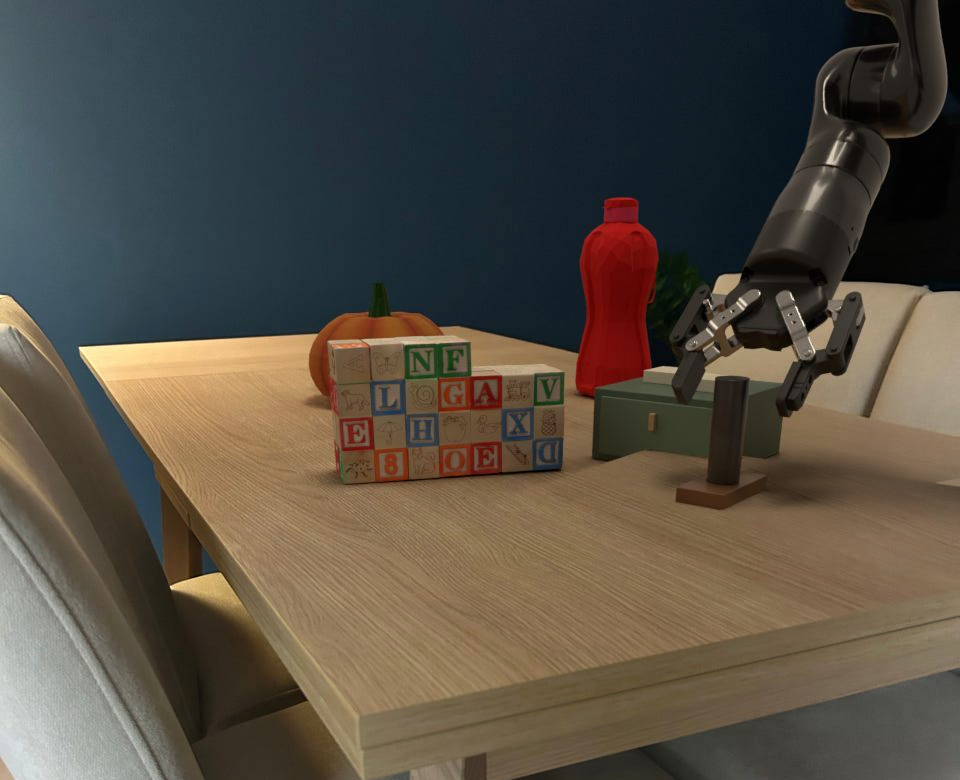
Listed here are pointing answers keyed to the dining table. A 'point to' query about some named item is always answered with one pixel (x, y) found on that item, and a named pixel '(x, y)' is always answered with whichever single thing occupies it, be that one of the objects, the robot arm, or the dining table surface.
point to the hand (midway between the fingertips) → (729, 404)
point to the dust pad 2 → (708, 382)
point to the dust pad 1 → (660, 375)
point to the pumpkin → (365, 332)
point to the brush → (725, 451)
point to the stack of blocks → (439, 411)
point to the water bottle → (616, 298)
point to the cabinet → (676, 420)
